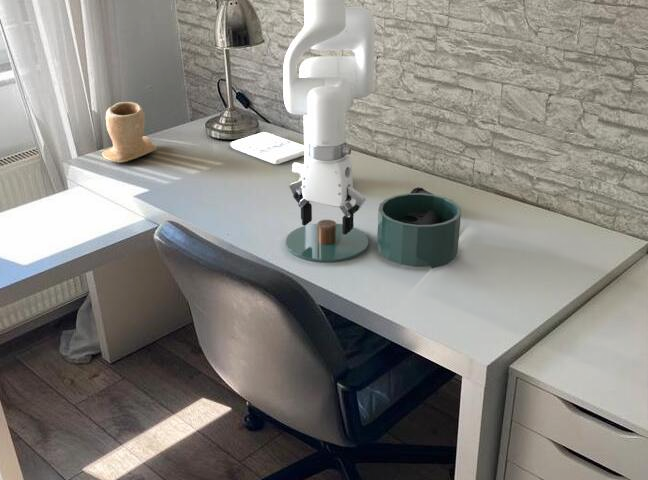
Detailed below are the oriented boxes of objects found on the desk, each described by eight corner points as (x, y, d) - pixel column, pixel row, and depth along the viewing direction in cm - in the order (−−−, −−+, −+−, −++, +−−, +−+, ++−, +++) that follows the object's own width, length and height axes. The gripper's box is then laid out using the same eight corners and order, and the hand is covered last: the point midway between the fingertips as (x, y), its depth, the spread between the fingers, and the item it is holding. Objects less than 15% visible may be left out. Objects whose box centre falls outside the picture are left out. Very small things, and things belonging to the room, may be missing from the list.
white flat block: (265, 136, 233) (264, 130, 232) (312, 153, 220) (312, 146, 219) (229, 147, 225) (228, 141, 224) (276, 165, 212) (275, 158, 211)
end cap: (427, 259, 164) (429, 230, 160) (394, 253, 166) (396, 224, 163) (441, 240, 171) (443, 211, 168) (409, 234, 174) (411, 206, 170)
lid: (269, 253, 168) (268, 231, 165) (310, 221, 181) (310, 200, 179) (344, 272, 160) (345, 249, 158) (381, 237, 174) (382, 216, 171)
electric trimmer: (451, 221, 181) (452, 208, 179) (407, 199, 192) (407, 186, 190) (463, 217, 183) (464, 204, 181) (418, 195, 194) (419, 183, 192)
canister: (363, 258, 166) (365, 216, 161) (396, 227, 178) (398, 187, 174) (439, 276, 159) (443, 233, 154) (468, 242, 171) (472, 202, 166)
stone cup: (123, 169, 211) (115, 114, 203) (97, 159, 218) (88, 105, 210) (168, 154, 220) (162, 101, 213) (141, 145, 227) (135, 93, 220)
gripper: (373, 151, 159) (371, 229, 167) (298, 138, 166) (300, 213, 175) (357, 162, 153) (355, 242, 162) (280, 148, 161) (282, 226, 169)
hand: (326, 227), depth 168 cm, fingers open, 9 cm apart
